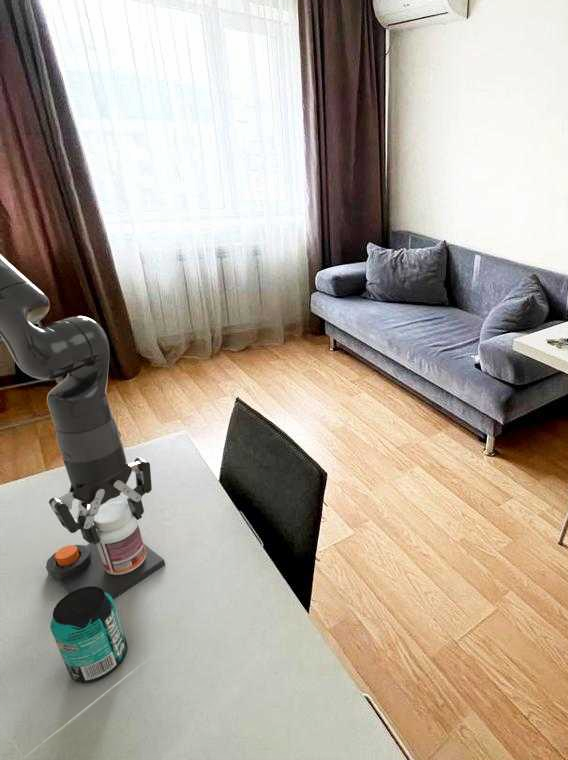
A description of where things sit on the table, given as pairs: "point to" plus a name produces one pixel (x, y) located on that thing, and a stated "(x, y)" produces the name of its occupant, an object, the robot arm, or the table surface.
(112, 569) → the pill bottle
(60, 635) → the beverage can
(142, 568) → the scale
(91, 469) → the robot arm
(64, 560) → the button
